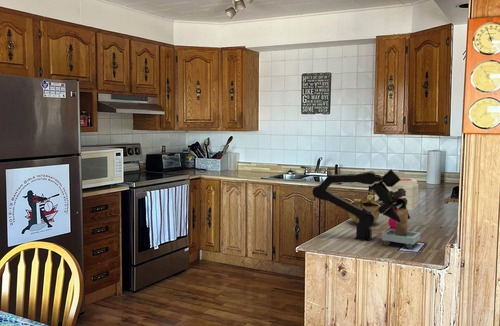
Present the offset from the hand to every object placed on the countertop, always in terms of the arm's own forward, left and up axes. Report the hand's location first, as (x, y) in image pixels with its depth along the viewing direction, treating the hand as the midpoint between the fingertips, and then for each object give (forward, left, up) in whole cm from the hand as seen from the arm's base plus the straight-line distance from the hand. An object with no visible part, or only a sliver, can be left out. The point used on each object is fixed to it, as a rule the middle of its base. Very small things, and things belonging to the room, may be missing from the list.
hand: (404, 220), depth 220 cm
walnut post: (-1, 0, -8) cm, 8 cm away
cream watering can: (-33, +93, -12) cm, 99 cm away
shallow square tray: (-1, 0, -12) cm, 12 cm away
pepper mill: (-11, +24, -12) cm, 29 cm away
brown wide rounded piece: (-31, +32, -12) cm, 46 cm away
